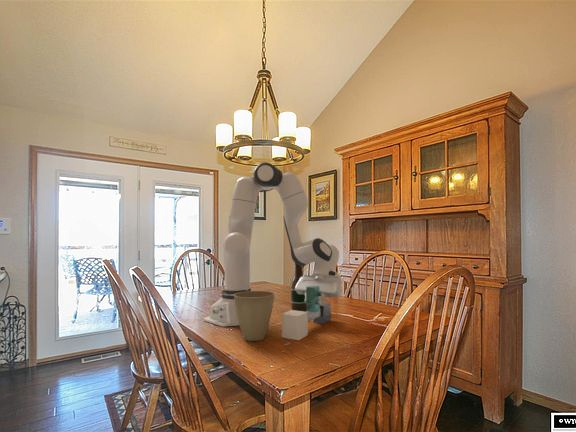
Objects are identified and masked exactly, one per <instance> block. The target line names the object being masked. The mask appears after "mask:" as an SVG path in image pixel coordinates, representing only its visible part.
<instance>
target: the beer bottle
mask: <svg viewBox="0 0 576 432" xmlns="http://www.w3.org/2000/svg"><path fill="white" fill-rule="evenodd" d="M294 265H295V266H294V267H295V269H294V278H293V280H292V282H291V284H290V285H291V287H290V295H291V296H290V299H291V300H290V303H291V305H290V307H291V309H290V310H296V311H304V312H306V311H307V307H306V303H305V295H302V294H298V293H297V292H296V290H295V286H296V284H297V283H298V281H299V279H300V277H302V276H304V275H303V266H299V265H297V264H296V263H295V262H294Z"/></svg>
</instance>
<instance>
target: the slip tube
mask: <svg viewBox="0 0 576 432" xmlns="http://www.w3.org/2000/svg"><path fill="white" fill-rule="evenodd" d="M319 298H320V296H319V286H308V287H306V307H307V311H306V312H307V317H308V323H309V322H311V321H313V319H315V318H317V317H319V316H321V315H323V308H322V307H320V305H317V303H316V301H317V299H319Z"/></svg>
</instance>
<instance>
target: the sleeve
mask: <svg viewBox="0 0 576 432" xmlns="http://www.w3.org/2000/svg"><path fill="white" fill-rule="evenodd" d="M331 306H332V305H331V302H326V301H322V303H321V305H320V307H322V308H323V315H321V316H319V317H317V318H315V319H313V320H312V321H313V323H316V324H321V325H325V324H327V323H329V322H330V321H332V313H331V311H332V310H331V308H332V307H331Z"/></svg>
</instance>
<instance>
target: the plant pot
mask: <svg viewBox="0 0 576 432" xmlns="http://www.w3.org/2000/svg"><path fill="white" fill-rule="evenodd" d="M274 299H275V292H273V291H266V290H251V291H246V292H239V293H235V294H234V300H235V307H236V313H237V317H238V321H239V325H238V326H239V328H240V332H241V335H242V336H243V339H244V340H246V341H248V342H258V341H261V340H263V339H265V336H266V333H267V330H268V327H269V324H270V321H271V316H272V312H273V306H274Z"/></svg>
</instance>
